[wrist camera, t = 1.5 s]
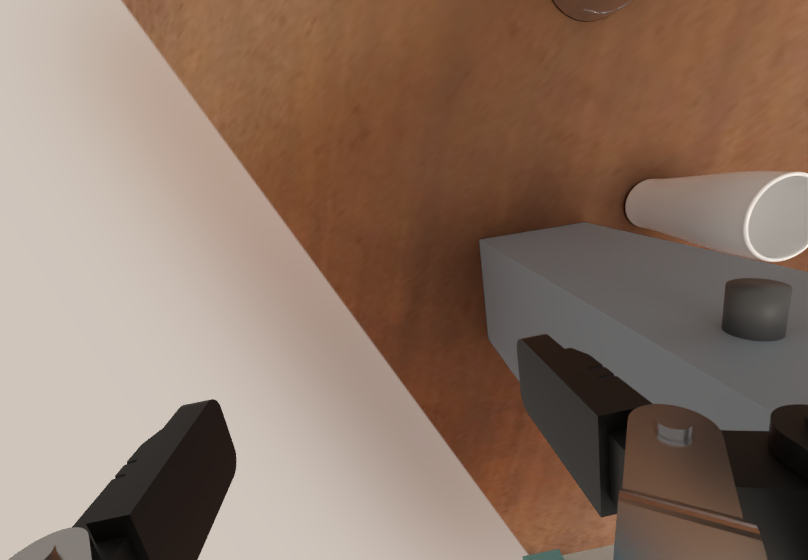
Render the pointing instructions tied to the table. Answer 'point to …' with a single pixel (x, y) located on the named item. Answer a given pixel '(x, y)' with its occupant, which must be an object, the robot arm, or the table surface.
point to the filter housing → (656, 317)
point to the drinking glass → (728, 211)
